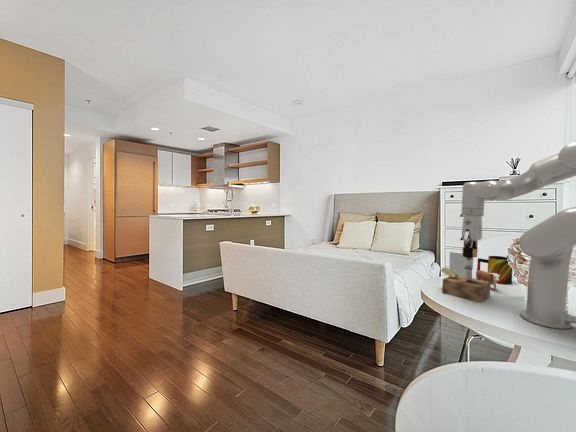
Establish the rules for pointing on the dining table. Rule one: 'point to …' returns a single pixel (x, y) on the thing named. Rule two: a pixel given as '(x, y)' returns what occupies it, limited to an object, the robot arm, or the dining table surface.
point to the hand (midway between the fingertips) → (470, 255)
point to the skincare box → (459, 264)
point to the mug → (498, 268)
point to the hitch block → (467, 288)
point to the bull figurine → (488, 277)
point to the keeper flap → (449, 273)
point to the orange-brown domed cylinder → (470, 260)
